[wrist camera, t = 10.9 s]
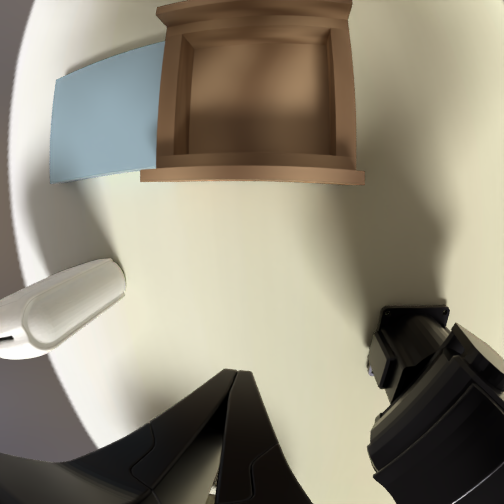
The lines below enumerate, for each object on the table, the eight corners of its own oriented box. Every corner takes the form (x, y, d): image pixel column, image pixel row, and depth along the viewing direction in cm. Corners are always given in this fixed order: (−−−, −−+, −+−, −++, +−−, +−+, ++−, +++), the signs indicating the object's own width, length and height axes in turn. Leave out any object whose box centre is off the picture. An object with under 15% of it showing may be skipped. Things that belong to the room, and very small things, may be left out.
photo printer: (64, 312, 25) (-18, 367, 13) (49, 274, 24) (-40, 317, 12) (134, 297, 23) (37, 375, 11) (117, 250, 22) (4, 303, 10)
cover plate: (181, 51, 18) (170, 39, 16) (179, 167, 20) (166, 165, 18) (71, 85, 20) (56, 79, 17) (67, 182, 22) (49, 183, 20)
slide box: (339, 35, 16) (351, -4, 11) (344, 184, 19) (364, 184, 13) (184, 39, 17) (157, 7, 12) (176, 181, 20) (140, 182, 15)
